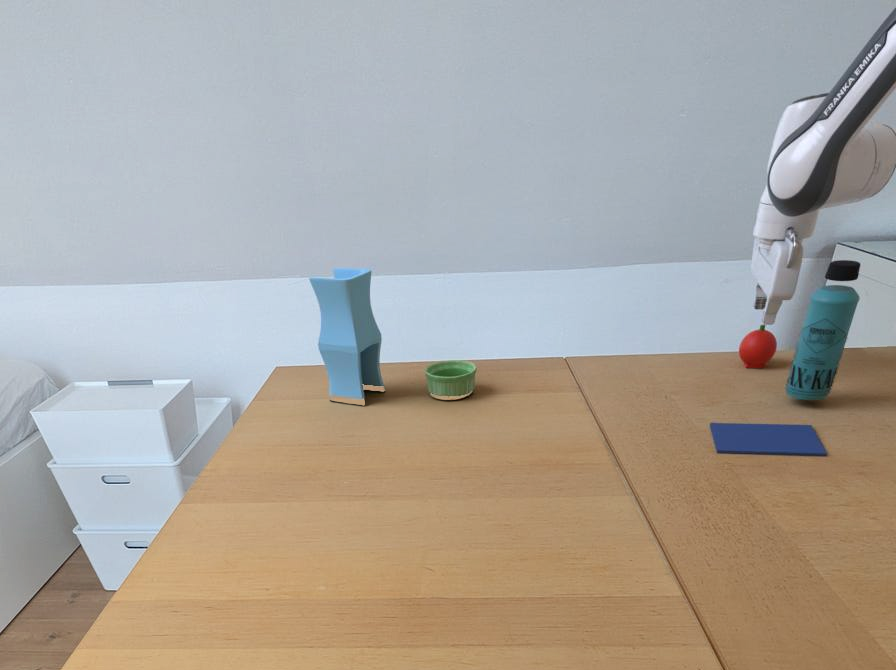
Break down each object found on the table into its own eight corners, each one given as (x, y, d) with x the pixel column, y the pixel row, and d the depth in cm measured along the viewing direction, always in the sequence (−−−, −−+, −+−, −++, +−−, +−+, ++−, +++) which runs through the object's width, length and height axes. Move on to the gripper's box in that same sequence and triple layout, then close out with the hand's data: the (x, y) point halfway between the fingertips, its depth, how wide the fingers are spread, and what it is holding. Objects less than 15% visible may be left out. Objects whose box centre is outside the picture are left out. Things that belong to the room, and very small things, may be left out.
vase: (350, 386, 130) (335, 267, 117) (386, 391, 126) (375, 269, 114) (326, 401, 124) (308, 278, 112) (363, 406, 121) (349, 280, 109)
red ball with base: (769, 360, 126) (778, 320, 122) (774, 371, 122) (784, 330, 117) (733, 360, 127) (742, 320, 123) (737, 370, 123) (746, 330, 119)
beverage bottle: (779, 394, 113) (815, 256, 101) (825, 396, 111) (867, 256, 99) (783, 409, 108) (821, 266, 96) (830, 411, 107) (876, 266, 94)
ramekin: (469, 382, 127) (468, 357, 125) (483, 398, 120) (482, 372, 118) (421, 388, 126) (419, 363, 124) (432, 405, 119) (431, 379, 117)
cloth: (810, 427, 102) (811, 424, 102) (825, 456, 95) (826, 453, 95) (709, 425, 105) (710, 422, 105) (716, 453, 98) (717, 450, 98)
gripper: (821, 234, 102) (794, 333, 111) (794, 212, 118) (772, 300, 126) (775, 235, 103) (752, 333, 112) (754, 213, 119) (735, 300, 127)
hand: (762, 315), depth 119 cm, fingers open, 8 cm apart
